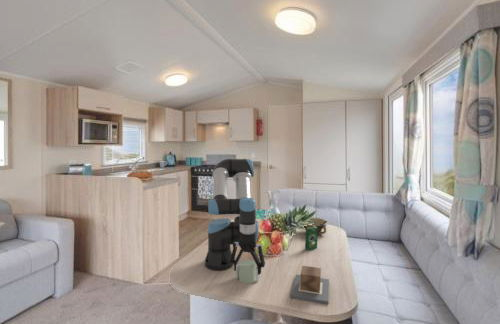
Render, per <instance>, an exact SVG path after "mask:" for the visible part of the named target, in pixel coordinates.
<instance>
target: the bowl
mask: <svg viewBox="0 0 500 324" xmlns="http://www.w3.org/2000/svg"><path fill="white" fill-rule="evenodd" d="M309 220H310V221H313V222H314V224H312V225H307V226H304V227H303V229H304V228H305V229H304V230H305V231H306V228H309V227H314V226H315V227H318V235H324V234H326V233H327V224H328V220H326V219H325V218H321V217H314V216H313V217H312V218H310V219H309ZM322 230H323V231H322Z"/></svg>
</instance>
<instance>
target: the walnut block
mask: <svg viewBox="0 0 500 324" xmlns="http://www.w3.org/2000/svg"><path fill="white" fill-rule="evenodd" d="M321 270H322V268H321V267H314V266H307V265H302V266H301V271H300V275H301V277H300V290H305V291H311V292H317V293H320V278H322V277H321V273H322V271H321Z"/></svg>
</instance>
